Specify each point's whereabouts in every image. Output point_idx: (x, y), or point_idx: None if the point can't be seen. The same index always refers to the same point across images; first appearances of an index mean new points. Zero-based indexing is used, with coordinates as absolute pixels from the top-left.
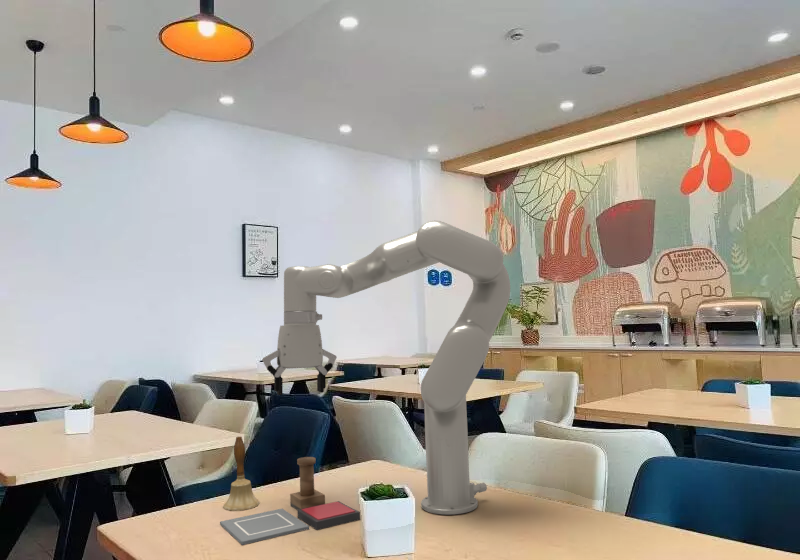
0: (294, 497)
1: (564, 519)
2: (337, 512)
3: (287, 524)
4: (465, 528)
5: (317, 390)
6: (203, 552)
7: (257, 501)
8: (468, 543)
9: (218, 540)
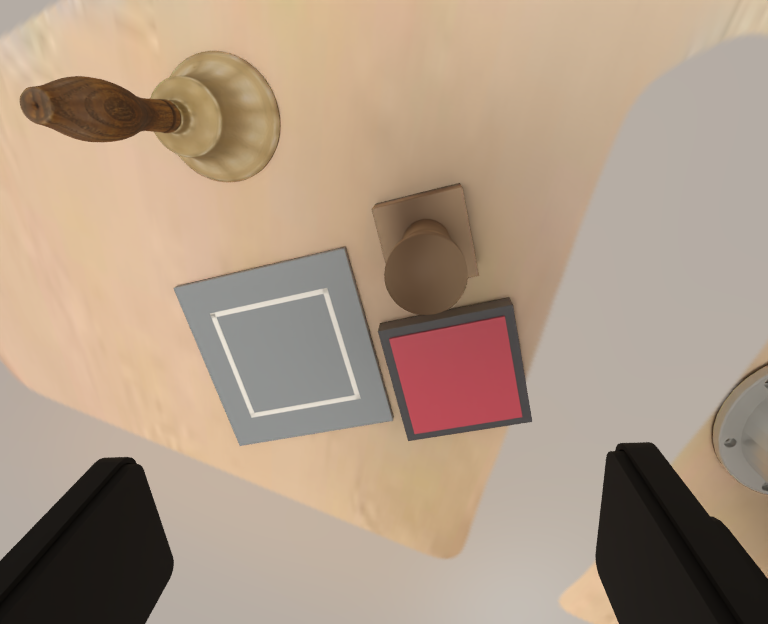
0: (381, 245)
1: None
2: (474, 408)
3: (344, 387)
4: None
5: (608, 460)
6: (168, 443)
7: (270, 138)
8: None
9: (189, 393)
